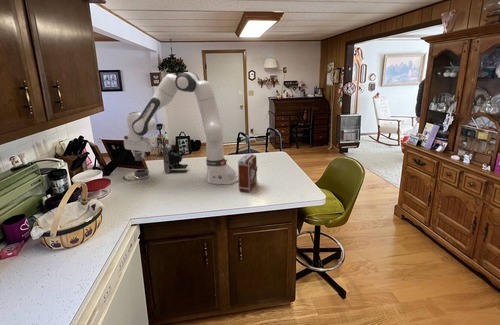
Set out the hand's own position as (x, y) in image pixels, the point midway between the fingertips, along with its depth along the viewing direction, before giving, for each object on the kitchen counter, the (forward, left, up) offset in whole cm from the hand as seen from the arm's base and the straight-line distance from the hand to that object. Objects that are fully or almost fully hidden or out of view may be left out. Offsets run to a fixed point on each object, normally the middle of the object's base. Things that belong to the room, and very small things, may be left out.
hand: (138, 156), depth 193 cm
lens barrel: (0, 0, -15) cm, 15 cm away
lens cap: (0, 0, -2) cm, 2 cm away
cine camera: (-76, -10, -15) cm, 79 cm away
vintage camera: (-15, -19, -15) cm, 29 cm away
